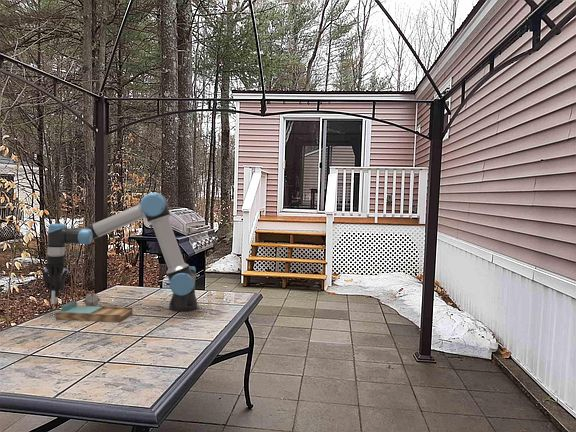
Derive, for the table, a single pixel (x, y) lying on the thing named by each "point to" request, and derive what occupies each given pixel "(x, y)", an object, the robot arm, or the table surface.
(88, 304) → the game die
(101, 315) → the board
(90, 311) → the cover
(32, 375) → the table surface
